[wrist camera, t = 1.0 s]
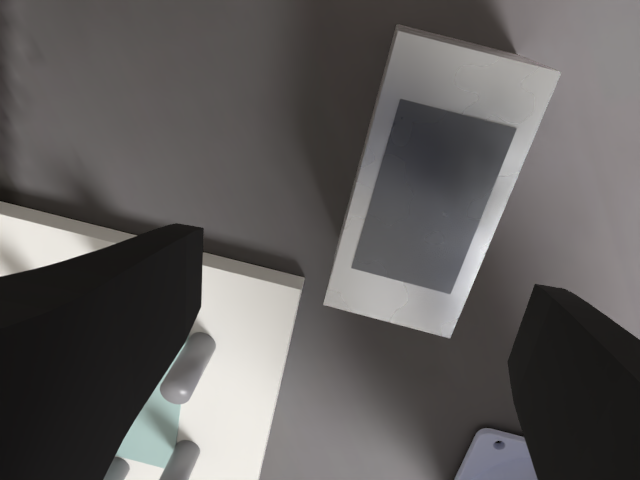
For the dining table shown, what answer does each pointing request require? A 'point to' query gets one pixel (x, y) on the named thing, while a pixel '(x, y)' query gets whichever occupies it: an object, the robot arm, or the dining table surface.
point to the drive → (434, 177)
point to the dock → (188, 357)
